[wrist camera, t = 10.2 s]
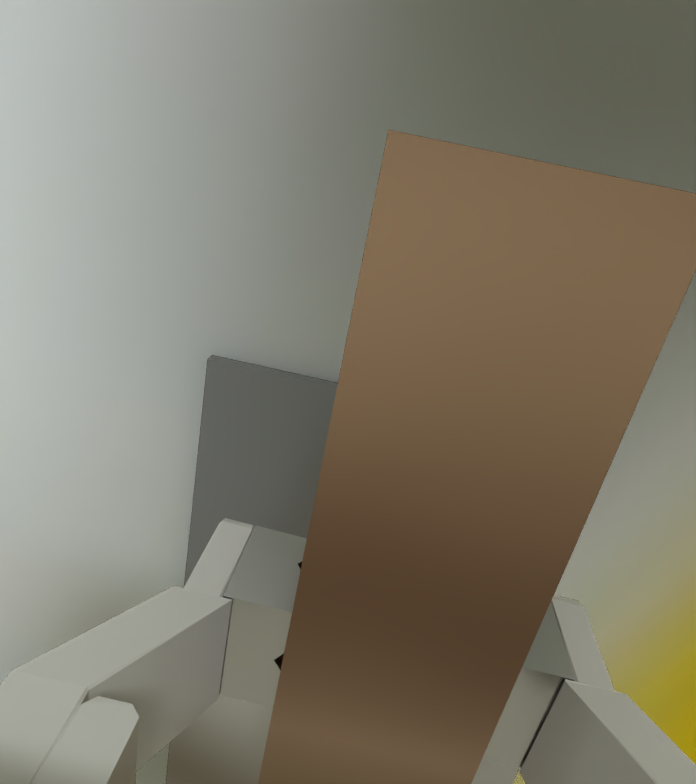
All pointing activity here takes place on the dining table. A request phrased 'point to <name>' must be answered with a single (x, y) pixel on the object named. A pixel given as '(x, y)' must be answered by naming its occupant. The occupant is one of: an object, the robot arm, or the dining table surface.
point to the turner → (456, 462)
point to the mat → (258, 450)
